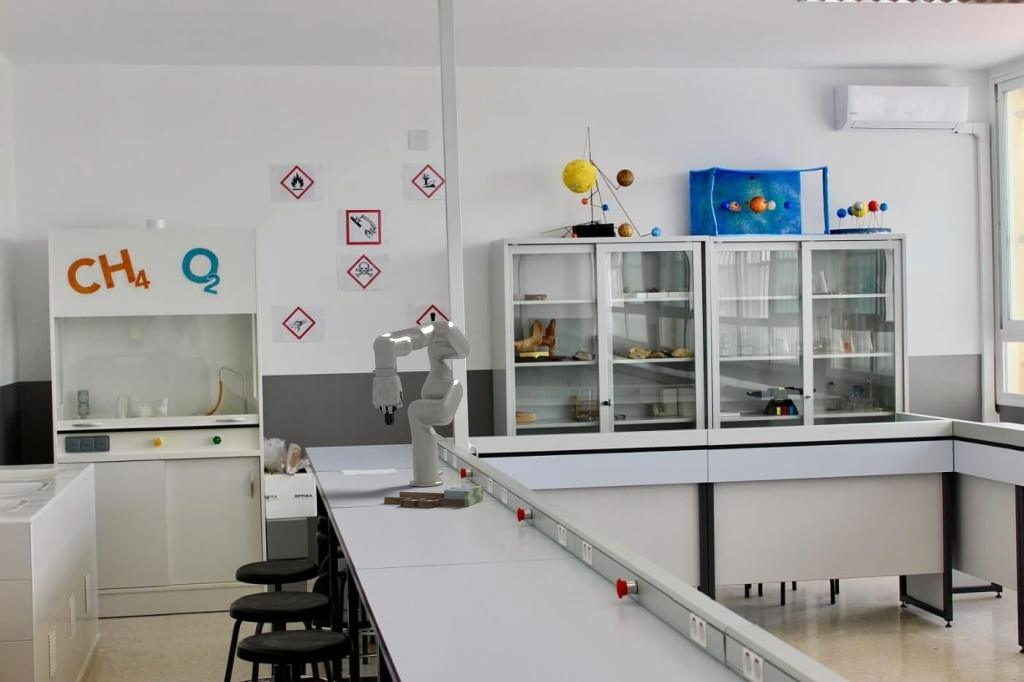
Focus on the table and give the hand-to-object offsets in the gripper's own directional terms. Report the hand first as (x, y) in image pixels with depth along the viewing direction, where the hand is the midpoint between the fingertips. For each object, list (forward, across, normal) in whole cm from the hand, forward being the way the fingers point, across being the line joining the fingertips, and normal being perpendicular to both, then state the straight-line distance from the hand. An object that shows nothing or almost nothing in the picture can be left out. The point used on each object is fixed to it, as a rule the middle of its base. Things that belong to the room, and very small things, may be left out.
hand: (389, 424), depth 388 cm
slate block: (+25, +31, -13) cm, 42 cm away
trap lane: (+25, +20, -13) cm, 35 cm away
